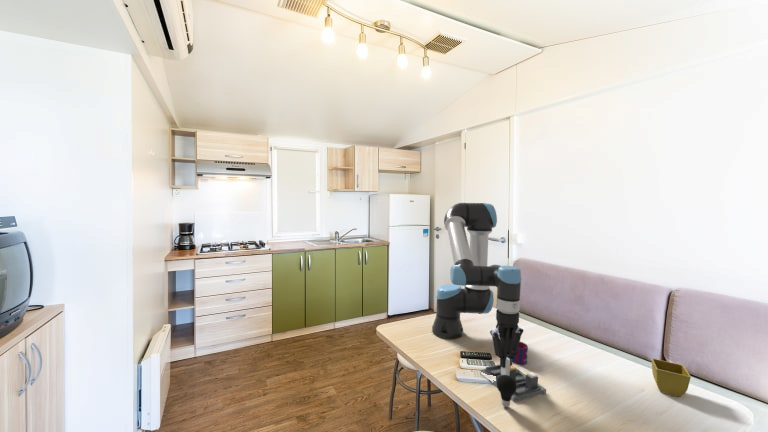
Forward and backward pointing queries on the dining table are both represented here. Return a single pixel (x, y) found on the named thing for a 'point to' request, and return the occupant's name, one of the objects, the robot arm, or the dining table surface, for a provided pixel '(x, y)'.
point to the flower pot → (670, 377)
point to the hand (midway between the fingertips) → (505, 375)
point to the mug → (521, 354)
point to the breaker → (531, 380)
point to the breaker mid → (513, 372)
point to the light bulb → (506, 388)
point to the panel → (521, 389)
